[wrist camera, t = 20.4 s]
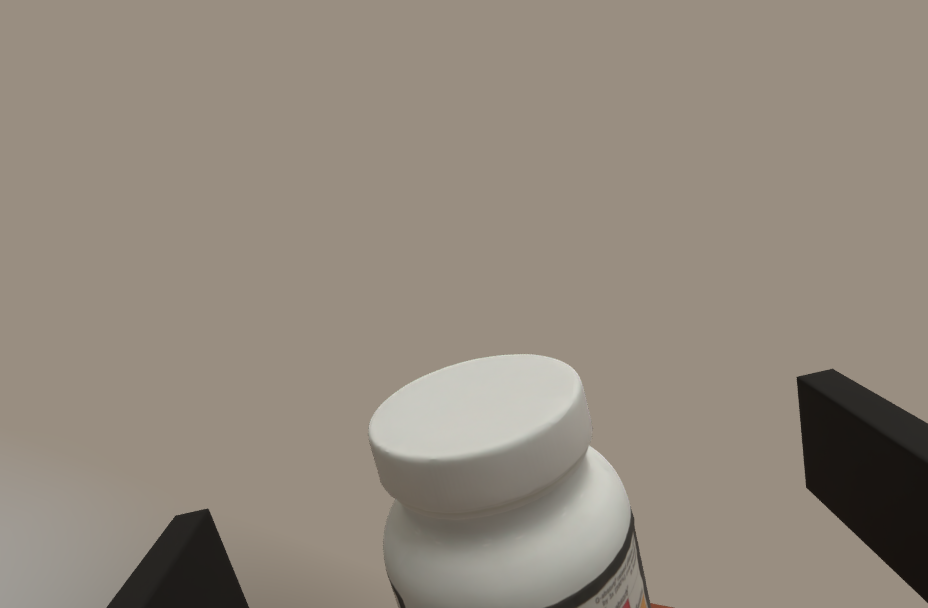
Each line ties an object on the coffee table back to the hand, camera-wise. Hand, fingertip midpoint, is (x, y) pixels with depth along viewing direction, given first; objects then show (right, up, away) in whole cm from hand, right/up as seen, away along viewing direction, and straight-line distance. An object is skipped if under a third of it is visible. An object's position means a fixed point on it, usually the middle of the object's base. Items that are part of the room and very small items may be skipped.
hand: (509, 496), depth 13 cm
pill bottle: (+2, -7, +2) cm, 8 cm away
